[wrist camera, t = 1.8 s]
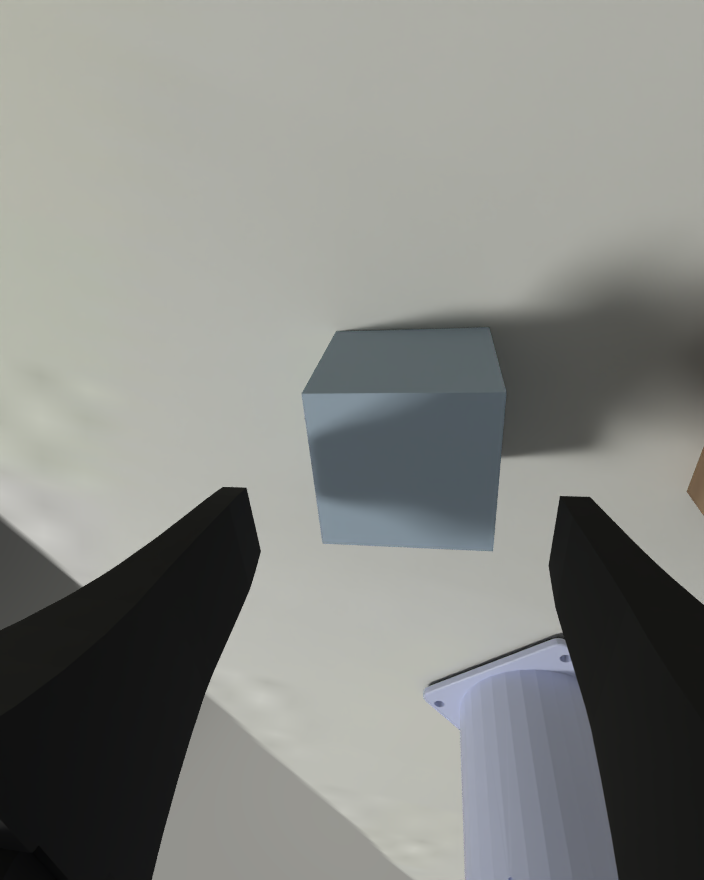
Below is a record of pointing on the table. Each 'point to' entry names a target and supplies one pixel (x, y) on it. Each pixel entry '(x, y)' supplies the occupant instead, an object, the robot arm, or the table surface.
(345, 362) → the slate cube
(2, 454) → the table surface
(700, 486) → the walnut block
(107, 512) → the table surface
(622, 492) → the table surface
